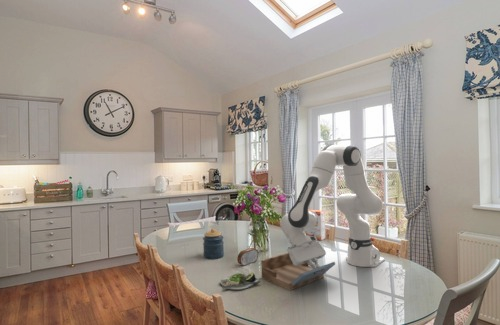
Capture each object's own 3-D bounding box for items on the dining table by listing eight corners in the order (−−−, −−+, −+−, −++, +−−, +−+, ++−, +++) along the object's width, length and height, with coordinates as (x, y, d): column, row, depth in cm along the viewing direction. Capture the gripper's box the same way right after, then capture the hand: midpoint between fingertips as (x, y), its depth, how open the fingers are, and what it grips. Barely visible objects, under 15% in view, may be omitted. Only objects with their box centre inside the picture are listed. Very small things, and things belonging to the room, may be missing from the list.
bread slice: (255, 259, 188) (255, 246, 188) (259, 261, 186) (259, 247, 186) (237, 266, 177) (236, 251, 177) (240, 267, 175) (240, 252, 175)
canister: (206, 260, 189) (205, 231, 189) (201, 255, 201) (200, 227, 201) (227, 257, 194) (226, 229, 194) (220, 252, 206) (219, 225, 206)
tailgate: (322, 271, 157) (334, 261, 151) (324, 275, 156) (336, 265, 150) (291, 283, 144) (302, 272, 138) (293, 287, 143) (304, 277, 137)
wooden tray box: (295, 266, 174) (294, 250, 174) (323, 277, 158) (323, 259, 158) (261, 277, 159) (261, 260, 159) (289, 290, 143) (288, 270, 143)
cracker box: (305, 237, 237) (304, 210, 236) (310, 236, 241) (309, 208, 240) (321, 240, 226) (320, 211, 226) (325, 239, 230) (325, 210, 230)
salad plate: (234, 297, 139) (234, 286, 139) (210, 285, 152) (210, 276, 152) (264, 284, 152) (264, 274, 152) (240, 275, 165) (240, 266, 165)
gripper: (288, 243, 145) (305, 270, 137) (318, 236, 157) (334, 260, 149) (282, 251, 148) (297, 277, 141) (311, 243, 161) (327, 267, 153)
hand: (317, 268), depth 145 cm, fingers closed, pressing on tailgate
